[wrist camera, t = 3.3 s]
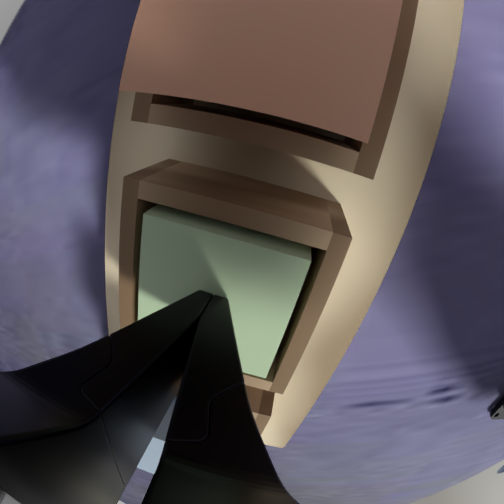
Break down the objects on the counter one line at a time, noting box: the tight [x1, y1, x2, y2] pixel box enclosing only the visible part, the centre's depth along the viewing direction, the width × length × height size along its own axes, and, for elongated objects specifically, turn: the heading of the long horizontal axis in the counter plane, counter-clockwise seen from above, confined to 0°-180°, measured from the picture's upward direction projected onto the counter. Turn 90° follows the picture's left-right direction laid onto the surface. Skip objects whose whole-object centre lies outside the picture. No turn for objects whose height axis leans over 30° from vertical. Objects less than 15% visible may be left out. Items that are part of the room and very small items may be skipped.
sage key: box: [138, 204, 311, 378], centre depth 10 cm, size 4×4×3 cm
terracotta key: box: [119, 0, 403, 144], centre depth 5 cm, size 4×4×3 cm
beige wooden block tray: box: [105, 0, 464, 448], centre depth 11 cm, size 11×24×5 cm, turn 167°
